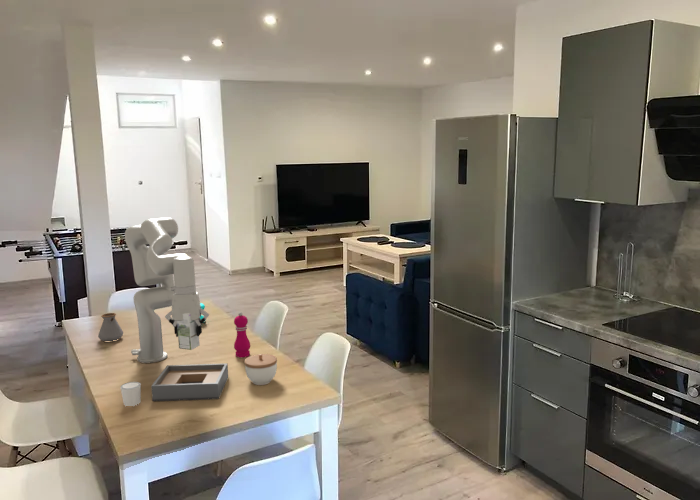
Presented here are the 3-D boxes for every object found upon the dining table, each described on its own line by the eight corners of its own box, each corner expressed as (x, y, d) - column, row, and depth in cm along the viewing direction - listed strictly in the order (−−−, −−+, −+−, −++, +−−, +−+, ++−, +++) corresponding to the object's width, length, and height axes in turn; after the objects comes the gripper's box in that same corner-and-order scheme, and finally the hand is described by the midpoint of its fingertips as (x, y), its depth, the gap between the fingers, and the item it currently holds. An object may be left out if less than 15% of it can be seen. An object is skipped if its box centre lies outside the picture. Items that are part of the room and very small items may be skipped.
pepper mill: (247, 358, 241) (244, 314, 237) (231, 357, 242) (229, 314, 239) (253, 352, 248) (251, 310, 244) (238, 352, 249) (236, 309, 246)
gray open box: (152, 401, 200) (151, 385, 199) (168, 379, 219) (167, 365, 218) (218, 399, 200) (217, 383, 199) (228, 377, 220) (227, 363, 219)
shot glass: (125, 399, 201) (123, 381, 200) (144, 398, 202) (143, 380, 201) (119, 408, 195) (117, 389, 193) (139, 407, 195) (137, 388, 194)
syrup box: (200, 345, 209) (197, 308, 207) (191, 350, 204) (188, 313, 201) (187, 343, 211) (185, 307, 208) (178, 349, 205) (175, 311, 203)
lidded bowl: (263, 390, 207) (262, 362, 205) (238, 383, 214) (237, 357, 212) (284, 378, 218) (283, 352, 216) (260, 372, 224) (259, 347, 223)
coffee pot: (97, 338, 272) (94, 309, 269) (122, 334, 278) (119, 306, 275) (102, 351, 254) (99, 320, 251) (128, 346, 259) (125, 316, 257)
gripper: (158, 292, 199) (162, 339, 202) (206, 291, 200) (209, 338, 203) (164, 288, 207) (168, 333, 210) (210, 286, 207) (213, 331, 210)
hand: (188, 335), depth 206 cm, fingers closed on syrup box, 7 cm apart
